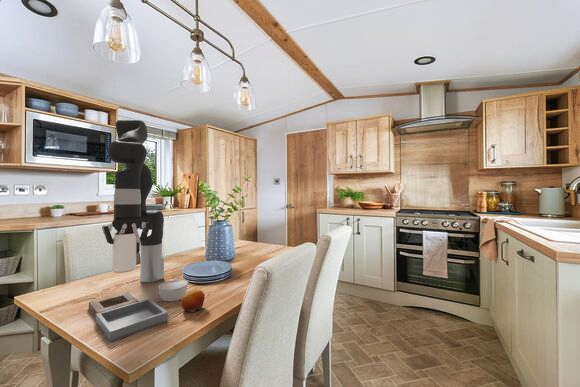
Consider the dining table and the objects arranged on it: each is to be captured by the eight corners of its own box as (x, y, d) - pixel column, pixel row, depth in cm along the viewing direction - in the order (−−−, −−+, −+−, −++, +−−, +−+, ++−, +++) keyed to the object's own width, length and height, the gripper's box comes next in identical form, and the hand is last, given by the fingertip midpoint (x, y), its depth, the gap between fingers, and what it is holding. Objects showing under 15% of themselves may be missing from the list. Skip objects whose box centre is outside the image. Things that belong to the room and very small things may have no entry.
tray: (148, 306, 95) (148, 298, 95) (167, 321, 85) (167, 312, 85) (96, 323, 83) (96, 313, 83) (110, 342, 73) (110, 331, 73)
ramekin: (182, 289, 112) (182, 277, 112) (192, 297, 104) (192, 284, 104) (154, 296, 104) (154, 283, 104) (163, 305, 96) (163, 291, 96)
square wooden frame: (127, 298, 103) (127, 291, 103) (138, 307, 94) (138, 300, 94) (88, 308, 93) (88, 301, 93) (97, 320, 85) (97, 312, 85)
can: (126, 273, 80) (127, 234, 80) (107, 272, 80) (107, 234, 80) (140, 267, 86) (140, 231, 86) (122, 266, 87) (122, 231, 87)
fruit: (194, 313, 87) (186, 290, 89) (181, 320, 91) (174, 298, 93) (213, 304, 94) (205, 283, 96) (200, 311, 97) (193, 290, 100)
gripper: (147, 202, 92) (146, 250, 92) (98, 203, 82) (97, 257, 82) (155, 202, 87) (154, 253, 87) (104, 203, 77) (103, 261, 76)
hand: (127, 254), depth 84 cm, fingers closed on can, 4 cm apart
